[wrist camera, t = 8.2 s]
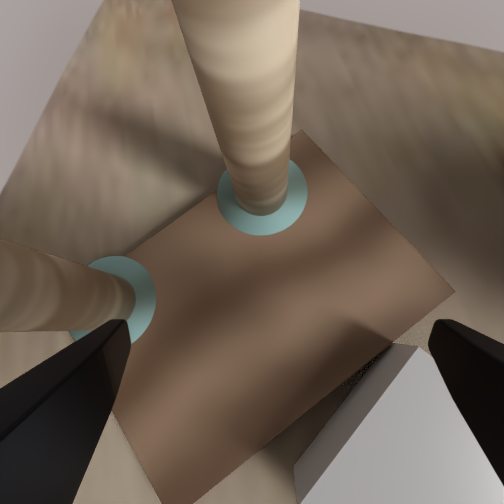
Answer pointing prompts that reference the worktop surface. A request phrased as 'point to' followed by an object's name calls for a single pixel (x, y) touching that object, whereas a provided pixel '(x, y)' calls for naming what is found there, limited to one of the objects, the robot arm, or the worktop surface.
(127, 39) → the worktop surface
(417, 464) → the cover
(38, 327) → the pin
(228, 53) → the pin loose
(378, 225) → the board
